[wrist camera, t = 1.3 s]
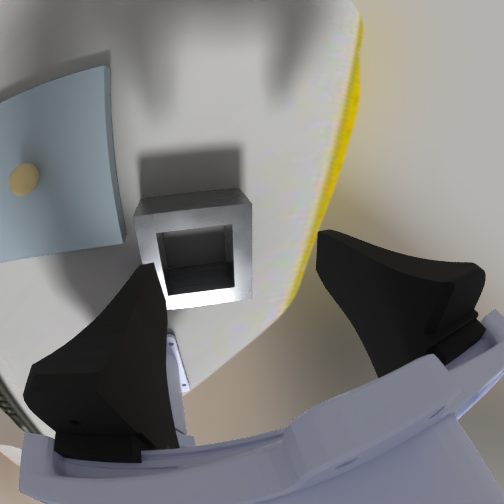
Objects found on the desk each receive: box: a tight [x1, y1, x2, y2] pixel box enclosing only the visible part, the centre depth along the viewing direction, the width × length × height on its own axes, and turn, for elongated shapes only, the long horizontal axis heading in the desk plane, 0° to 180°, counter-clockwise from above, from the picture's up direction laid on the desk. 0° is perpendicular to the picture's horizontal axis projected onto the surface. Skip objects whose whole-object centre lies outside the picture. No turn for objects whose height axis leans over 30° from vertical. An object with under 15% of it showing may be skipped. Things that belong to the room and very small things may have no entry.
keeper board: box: [0, 65, 127, 263], centre depth 12 cm, size 12×12×4 cm
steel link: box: [133, 189, 252, 310], centre depth 18 cm, size 7×7×4 cm
